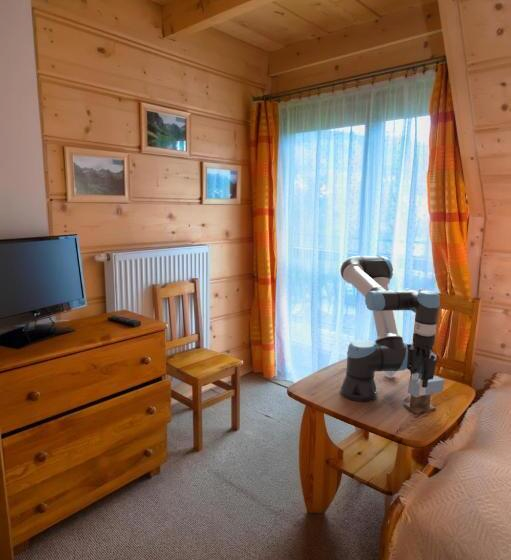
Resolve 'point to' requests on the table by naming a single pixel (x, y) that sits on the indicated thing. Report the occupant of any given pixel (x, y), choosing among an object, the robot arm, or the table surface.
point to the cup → (390, 374)
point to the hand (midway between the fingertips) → (417, 391)
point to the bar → (432, 387)
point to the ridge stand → (420, 404)
